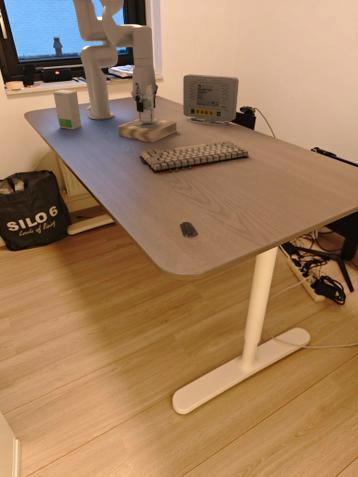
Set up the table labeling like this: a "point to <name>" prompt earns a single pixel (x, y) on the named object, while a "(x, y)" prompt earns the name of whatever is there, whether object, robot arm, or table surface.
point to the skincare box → (67, 109)
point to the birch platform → (147, 129)
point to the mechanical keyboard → (191, 157)
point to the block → (188, 229)
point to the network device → (210, 98)
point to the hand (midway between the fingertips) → (146, 109)
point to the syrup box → (147, 106)
